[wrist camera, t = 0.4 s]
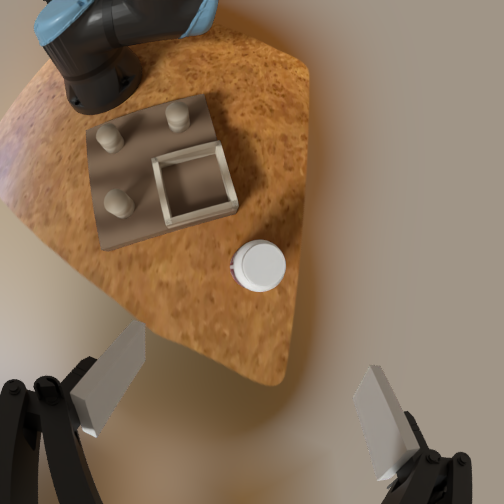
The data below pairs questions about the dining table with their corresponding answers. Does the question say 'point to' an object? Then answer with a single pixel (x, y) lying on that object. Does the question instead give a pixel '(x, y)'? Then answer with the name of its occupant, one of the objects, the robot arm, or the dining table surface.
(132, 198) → the wooden organizer tray
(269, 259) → the pill bottle
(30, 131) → the dining table surface
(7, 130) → the dining table surface
